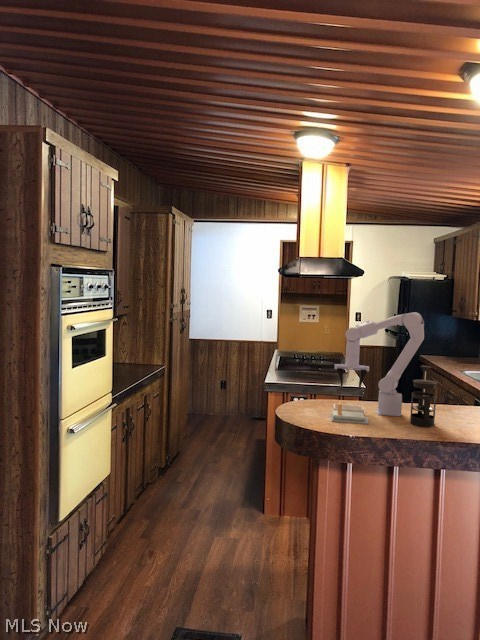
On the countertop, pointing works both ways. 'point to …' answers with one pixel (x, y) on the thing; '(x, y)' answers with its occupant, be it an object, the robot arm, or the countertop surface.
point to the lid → (347, 414)
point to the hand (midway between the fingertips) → (350, 386)
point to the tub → (349, 408)
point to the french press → (423, 403)
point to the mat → (350, 420)
